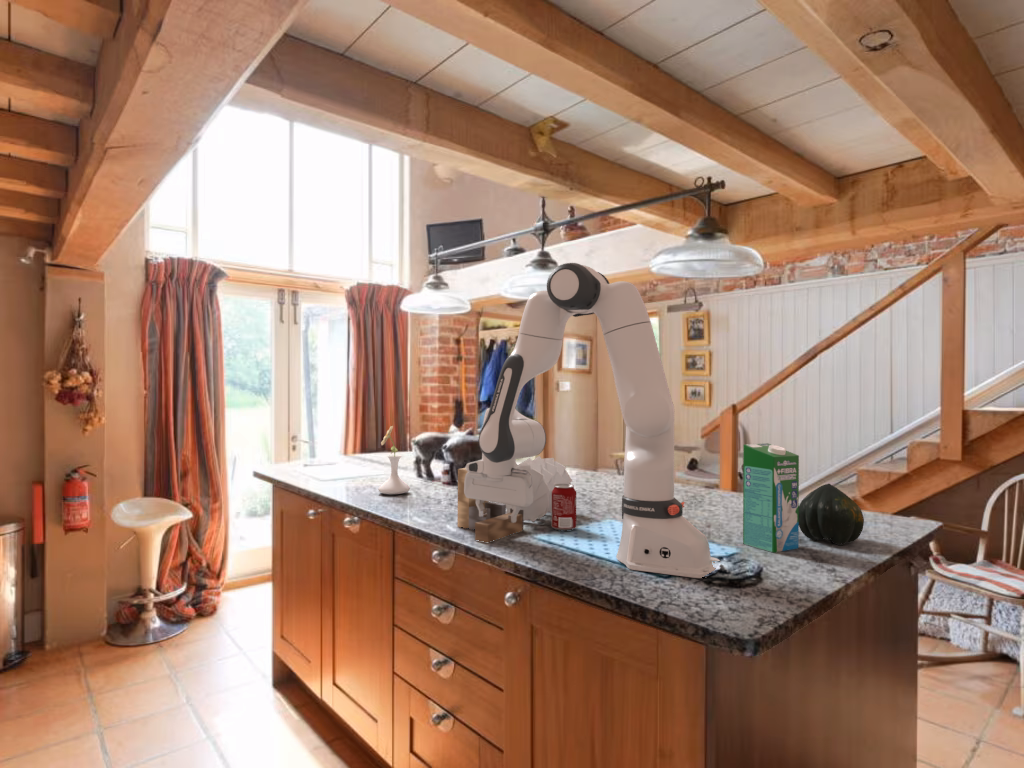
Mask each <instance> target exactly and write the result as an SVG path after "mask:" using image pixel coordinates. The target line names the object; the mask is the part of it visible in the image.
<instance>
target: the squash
mask: <svg viewBox="0 0 1024 768" xmlns="http://www.w3.org/2000/svg"><path fill="white" fill-rule="evenodd" d="M864 523H865V519H864V515H863V511H862V509H861V507H860V506H859V505H858V504H857V502H856V501H854V500H853V499H852V498H851V497H850V496H848V495H847V494H846V493H844V492H843V491H842V490H841V489H839V488H838V487H836V486H835V485H832V484H831V483H825V484H823V485H821V486H819V487H817V488H815V489H813V490H812V491H810V492H809V493H808V494H807V495H806V496H805V497H804V498H803V499H802V500H801V502H800V503H799V529H800V530H799V531H800V532H801V533H802V535H804V536H805V537H807V538H808V539H809V540H813V541H820V540H821V541H822V540H824V539H825V540H826V541H827V540H828V541H829V540H831V541H832V543H833V544H835V545H838V546H842V545H845V544H849V543H852V542H855V541H856V540H858V538H860V536H861V535H862V532H863V529H864Z"/></svg>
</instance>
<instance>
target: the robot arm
mask: <svg viewBox="0 0 1024 768" xmlns="http://www.w3.org/2000/svg"><path fill="white" fill-rule="evenodd" d="M594 314H595V316H596V317H597V319H598V321H599V324H600V327H601V332H602V336H603V339H604V342H605V346H606V347H605V348H606V350H607V354H608V358H609V362H610V366H611V370H612V373H613V374H612V375H613V378H614V379H613V380H614V385H615V389H616V394H617V399H618V402H619V407H620V412H621V415H622V419H623V422H624V424H625V441H624V442H625V444H624V459H623V460H624V461H623V473H624V474H623V495H622V496H621V518H622V529H621V536H620V541H619V546H618V551H617V553H616V556H615V557H616V560H617V561H618V562H621V563H622V564H624V565H625V567H626V568H627V569H629V570H634V571H639V572H648V573H654V574H664V575H671V576H677V577H679V576H680V577H686V578H694V579H703V578H702V577H704V576H705V575H707V574H709V573H711V572H712V571H714V570H715V569H716V568H714V567H713V565H712V561H720V562H721V560H720V559H718V558H716V557H713V556H711V549H710V543H709V540H708V537H707V536H706V534H704V533H703V532H702V531H700V530H699V529H698V528H697V527H696V526H695V525H693V524H692V523H691V522H690V521H689V520H688V519H686V518H685V517H684V516H683V510H684V509H683V508H685V501H683V502H680V501H679V500H678V499H677V498H675V406H674V402H673V400H672V396H671V391H670V389H669V385H668V382H667V381H668V380H667V378H666V374H665V369H664V366H663V362H662V359H661V356H660V355H661V354H660V351H659V347H658V343H657V340H656V337H655V332H654V329H653V325H652V322H651V318H650V315H649V312H648V310H647V307H646V305H645V302H644V300H643V297H642V295H641V293H640V291H639V290H638V287H637V286H636V285H635V284H633V283H632V282H629V281H626V280H625V281H624V280H622V281H615V282H612V283H610V282H609V280H608V278H607V277H606V276H605V275H604V274H603V273H600V272H598V271H596V270H595V269H594V268H593V267H590V266H587V265H583V264H580V263H577V262H566V263H562V264H560V265H558V266H557V267H555V268H554V269H553V270H552V271H551V272H550V274H549V275H548V277H547V282H546V290H539V291H535V292H533V293H532V294H530V296H529V297H528V299H527V300H526V304H525V306H524V309H523V313H522V316H521V320H520V324H519V330H518V333H517V338H516V342H515V344H514V345H515V346H514V347H513V349H512V351H511V353H510V355H509V356H508V357H507V358H506V359H505V360H504V363H503V365H502V367H501V369H500V372H499V376H498V379H497V382H496V386H495V389H494V393H493V396H492V399H491V403H490V406H489V407H488V408H486V411H485V413H484V418H483V424H482V426H481V429H480V432H479V435H478V445H479V449H480V451H481V458H480V459H478V460H475V461H471V462H468V463H466V465H465V468H466V470H467V471H468V473H467V474H466V476H465V481H464V494H465V496H466V497H467V498H471V499H476V506H477V508H478V510H479V517H486V516H487V510H485V508H484V505H483V503H484V501H489V502H493V503H500V504H507V505H512V510H513V512H512V514H511V515H508V522H511V523H515V522H516V518H517V514H518V513H519V511H520V509H521V507H528V506H530V505H531V504H532V503H533V488H532V475H531V474H530V473H529V472H528V471H527V470H520V469H515V464H516V463H517V461H516V460H517V459H518V460H519V459H524V458H533V457H535V456H536V457H537V456H540V454H541V453H542V452H543V450H544V449H545V447H546V443H547V434H546V429H545V428H544V426H543V425H542V423H541V422H539V421H538V420H534V419H532V418H530V417H527V416H525V415H523V414H522V413H520V412H519V411H518V410H517V409H516V407H517V403H518V400H519V396H520V393H521V391H522V390H523V387H524V386H525V385H526V384H528V382H530V380H532V379H535V378H536V377H537V376H539V375H542V374H544V373H546V372H548V371H550V370H551V369H552V368H554V366H556V364H557V363H558V362H559V361H558V360H559V358H560V356H561V352H562V347H563V341H564V336H565V329H566V325H567V322H568V320H569V319H570V318H571V317H575V318H577V317H584V316H591V315H594ZM520 473H521V474H520ZM528 474H529V475H528ZM713 563H715V562H713Z"/></svg>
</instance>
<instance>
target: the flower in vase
mask: <svg viewBox="0 0 1024 768" xmlns="http://www.w3.org/2000/svg"><path fill="white" fill-rule="evenodd" d="M393 428H394V426H393V425H392V426H391V425H390V427H389V429H387V431H386V434H385V435H384V437H383V440H381V442H380V444H381V446H384V445H385V444H386V442H387V441H388V439H390V440H391V443H392V446H391V448H390V450H391V452H390V455H387V458H388V459H389V462H390V466H391V467H390V468H391V469H390V470H391V471H390V476H389V477H388V478H387V479H386V480H385V481H384V482H383V483H382V484H381V485H379V486H378V488H377V489H378V492H379V493H381V494H384V495H393V496H394V495H402V494H405V493H406V494H407V493H408V492H409V491H411V487H410V486H409V484H408V483H406V482H405V481H404V480H403V479H402V478H401V477H400V476H399V473H398V467H399V463H400V462H399V461H400V459H401V458H402V454H400V455H399V454H396V453H397V452H398V451H399V450H398V448H396V446H395V443H394V440H393V438H392V437H391V433H392V431H393Z"/></svg>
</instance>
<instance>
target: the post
mask: <svg viewBox="0 0 1024 768" xmlns="http://www.w3.org/2000/svg"><path fill="white" fill-rule="evenodd" d="M467 473H468V471H467V470H466V467H463V468H458V469H457V524H456V525H457V528H461V527H463V528H462V529H466V528H469V530H472V529H475V523H477V522H480V521H483V520H487V519H490V518H493V517H497V516H500V515H504V514H506V511H507V508H506V504H501V503H495V502H489V501H484V503H483V505H484V508H485V510H487V516H486V517H479V510H478V508H477V506H476V499H471V498H467V497H466V496H465V494H464V481H465V476H466V474H467Z"/></svg>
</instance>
